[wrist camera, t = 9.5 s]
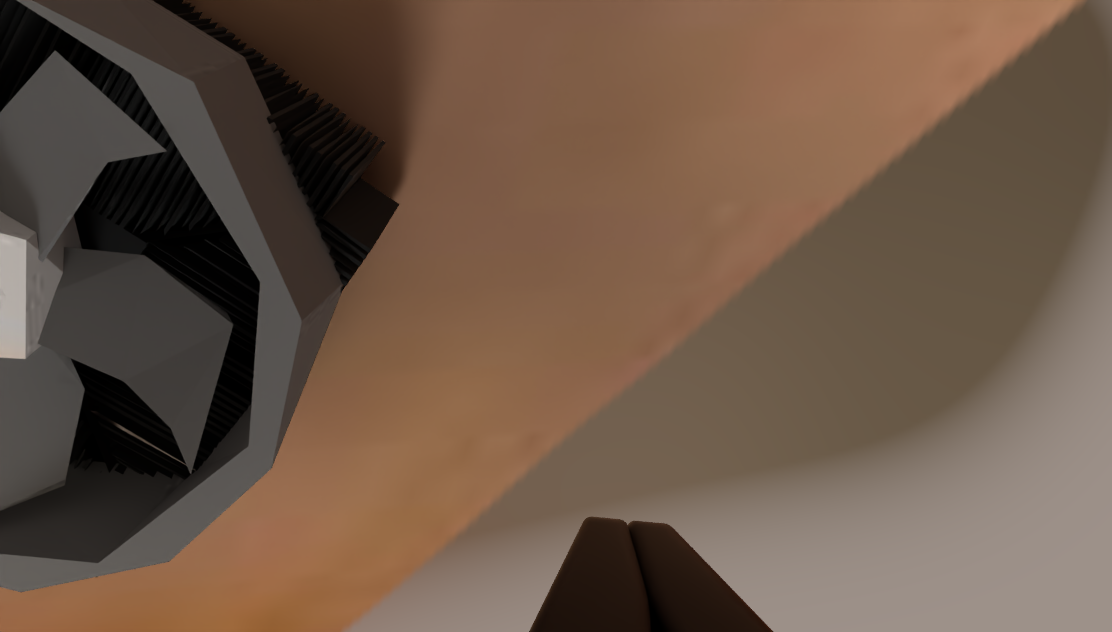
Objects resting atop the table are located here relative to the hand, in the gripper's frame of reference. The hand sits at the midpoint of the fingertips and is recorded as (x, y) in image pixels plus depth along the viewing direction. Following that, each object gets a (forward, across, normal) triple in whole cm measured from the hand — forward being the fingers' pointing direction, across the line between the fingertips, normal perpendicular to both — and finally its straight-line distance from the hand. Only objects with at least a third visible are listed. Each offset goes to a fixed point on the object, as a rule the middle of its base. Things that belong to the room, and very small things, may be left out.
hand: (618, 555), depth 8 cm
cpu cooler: (+10, +10, 0) cm, 14 cm away
